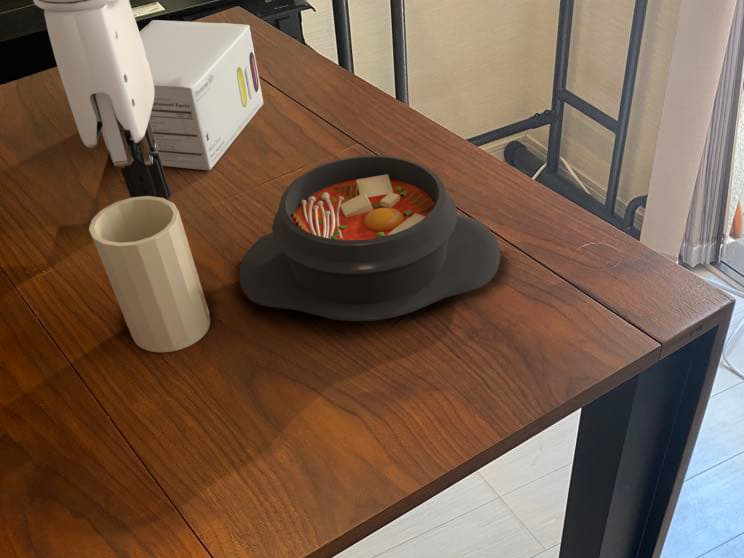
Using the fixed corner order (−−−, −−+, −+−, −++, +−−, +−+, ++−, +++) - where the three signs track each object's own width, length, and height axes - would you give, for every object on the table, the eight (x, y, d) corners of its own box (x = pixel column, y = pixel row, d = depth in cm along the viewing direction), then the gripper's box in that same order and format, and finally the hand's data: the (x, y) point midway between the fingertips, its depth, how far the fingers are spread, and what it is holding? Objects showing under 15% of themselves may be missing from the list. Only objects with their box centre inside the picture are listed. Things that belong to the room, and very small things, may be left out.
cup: (126, 356, 76) (82, 249, 68) (137, 306, 81) (97, 200, 72) (207, 348, 76) (172, 241, 68) (213, 299, 81) (182, 192, 72)
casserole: (235, 349, 76) (213, 269, 69) (249, 234, 87) (231, 155, 81) (511, 326, 75) (515, 243, 69) (489, 213, 87) (490, 133, 80)
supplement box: (213, 172, 96) (191, 87, 88) (110, 163, 98) (81, 80, 91) (266, 103, 105) (251, 21, 98) (172, 96, 108) (150, 16, 101)
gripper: (47, -61, 66) (123, 164, 81) (3, 15, 57) (98, 253, 71) (141, -70, 66) (201, 156, 80) (112, 4, 57) (186, 244, 71)
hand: (152, 201), depth 76 cm, fingers closed
